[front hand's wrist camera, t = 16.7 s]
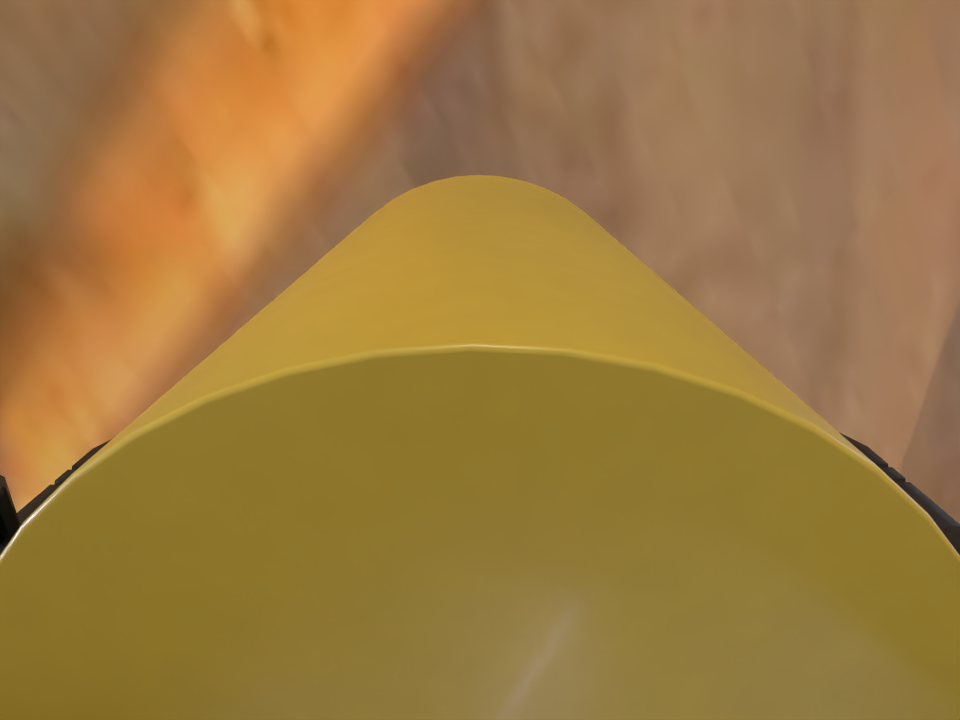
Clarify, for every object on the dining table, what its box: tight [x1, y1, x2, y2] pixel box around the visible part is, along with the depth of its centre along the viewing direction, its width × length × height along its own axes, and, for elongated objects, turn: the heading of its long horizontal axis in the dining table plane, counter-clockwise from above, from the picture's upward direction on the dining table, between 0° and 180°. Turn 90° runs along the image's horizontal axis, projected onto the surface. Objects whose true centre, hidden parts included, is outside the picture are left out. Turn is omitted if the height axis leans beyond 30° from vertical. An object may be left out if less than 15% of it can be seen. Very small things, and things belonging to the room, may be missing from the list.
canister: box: [0, 175, 960, 720], centre depth 11 cm, size 9×9×12 cm
